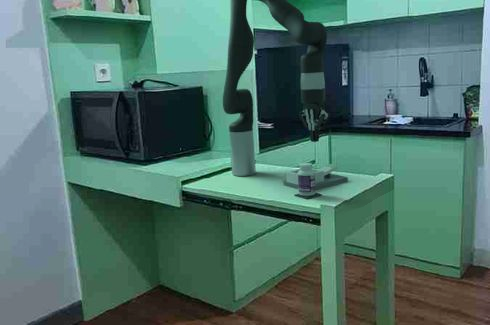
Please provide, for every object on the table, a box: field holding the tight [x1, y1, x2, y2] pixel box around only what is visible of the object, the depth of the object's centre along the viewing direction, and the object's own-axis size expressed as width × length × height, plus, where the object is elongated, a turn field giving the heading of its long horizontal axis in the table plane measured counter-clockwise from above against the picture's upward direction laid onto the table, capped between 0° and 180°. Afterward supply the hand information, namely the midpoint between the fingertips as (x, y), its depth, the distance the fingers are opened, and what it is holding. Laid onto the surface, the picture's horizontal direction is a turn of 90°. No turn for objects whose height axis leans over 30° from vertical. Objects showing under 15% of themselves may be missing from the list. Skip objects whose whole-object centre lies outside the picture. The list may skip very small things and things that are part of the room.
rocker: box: [318, 163, 339, 176], centre depth 157 cm, size 4×8×1 cm, turn 123°
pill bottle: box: [298, 162, 317, 196], centre depth 140 cm, size 5×5×10 cm
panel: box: [282, 168, 349, 191], centre depth 155 cm, size 13×18×5 cm
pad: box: [294, 192, 323, 200], centre depth 140 cm, size 6×6×1 cm
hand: (314, 141), depth 145 cm, fingers closed
